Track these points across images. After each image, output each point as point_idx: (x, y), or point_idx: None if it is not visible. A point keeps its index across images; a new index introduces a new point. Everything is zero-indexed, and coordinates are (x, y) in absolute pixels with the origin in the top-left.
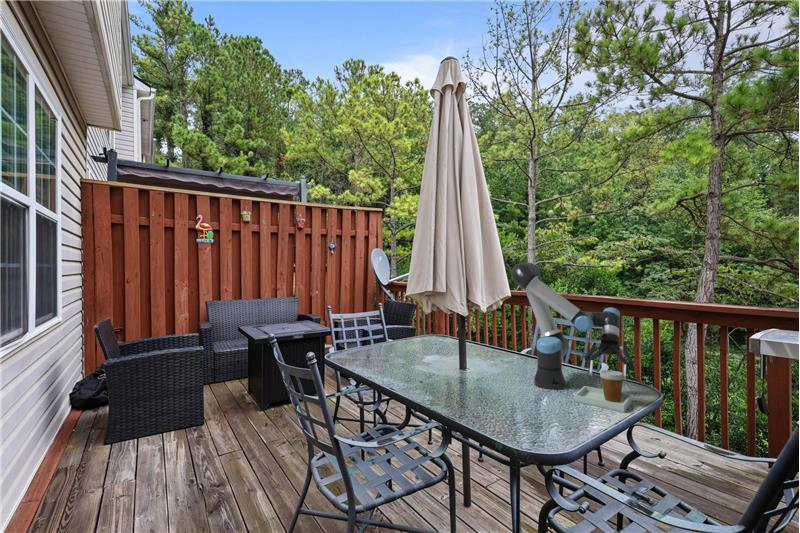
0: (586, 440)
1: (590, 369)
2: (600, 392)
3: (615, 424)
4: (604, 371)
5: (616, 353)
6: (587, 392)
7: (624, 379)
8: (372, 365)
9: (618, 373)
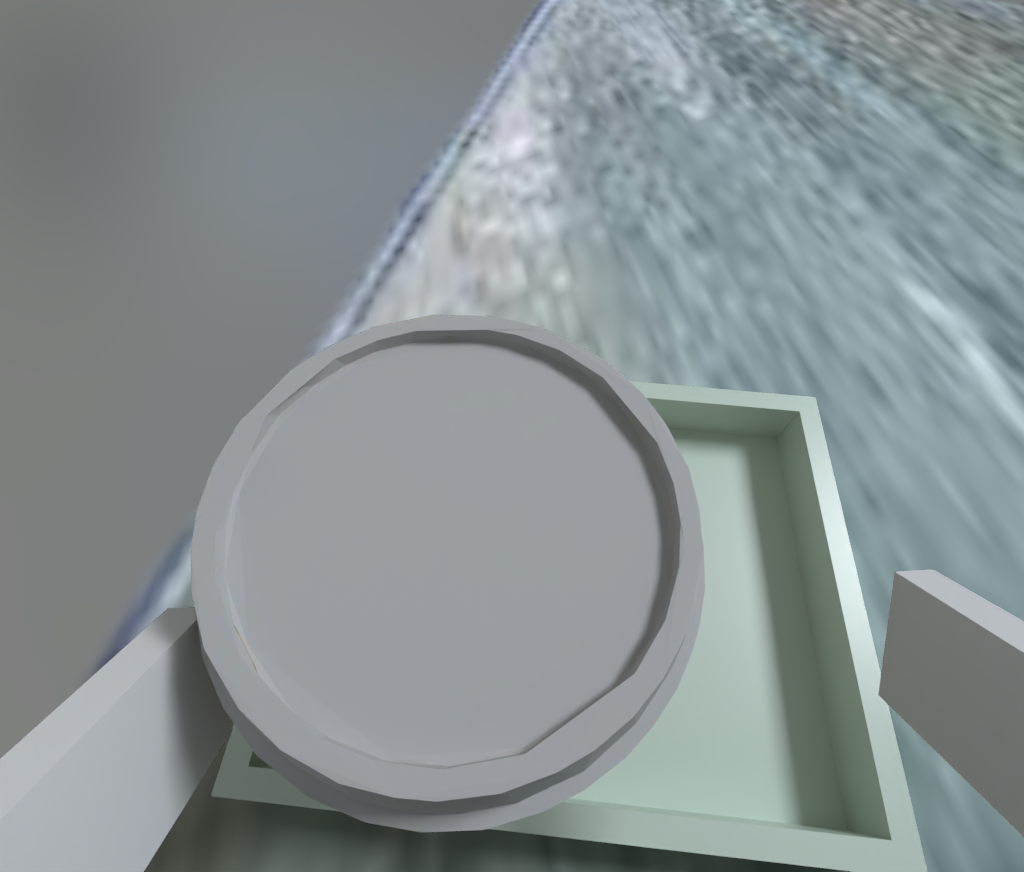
0: (524, 49)
1: (1000, 615)
2: (647, 807)
3: (421, 204)
4: (646, 646)
5: None
6: (802, 774)
7: (211, 704)
8: None
9: (291, 589)
